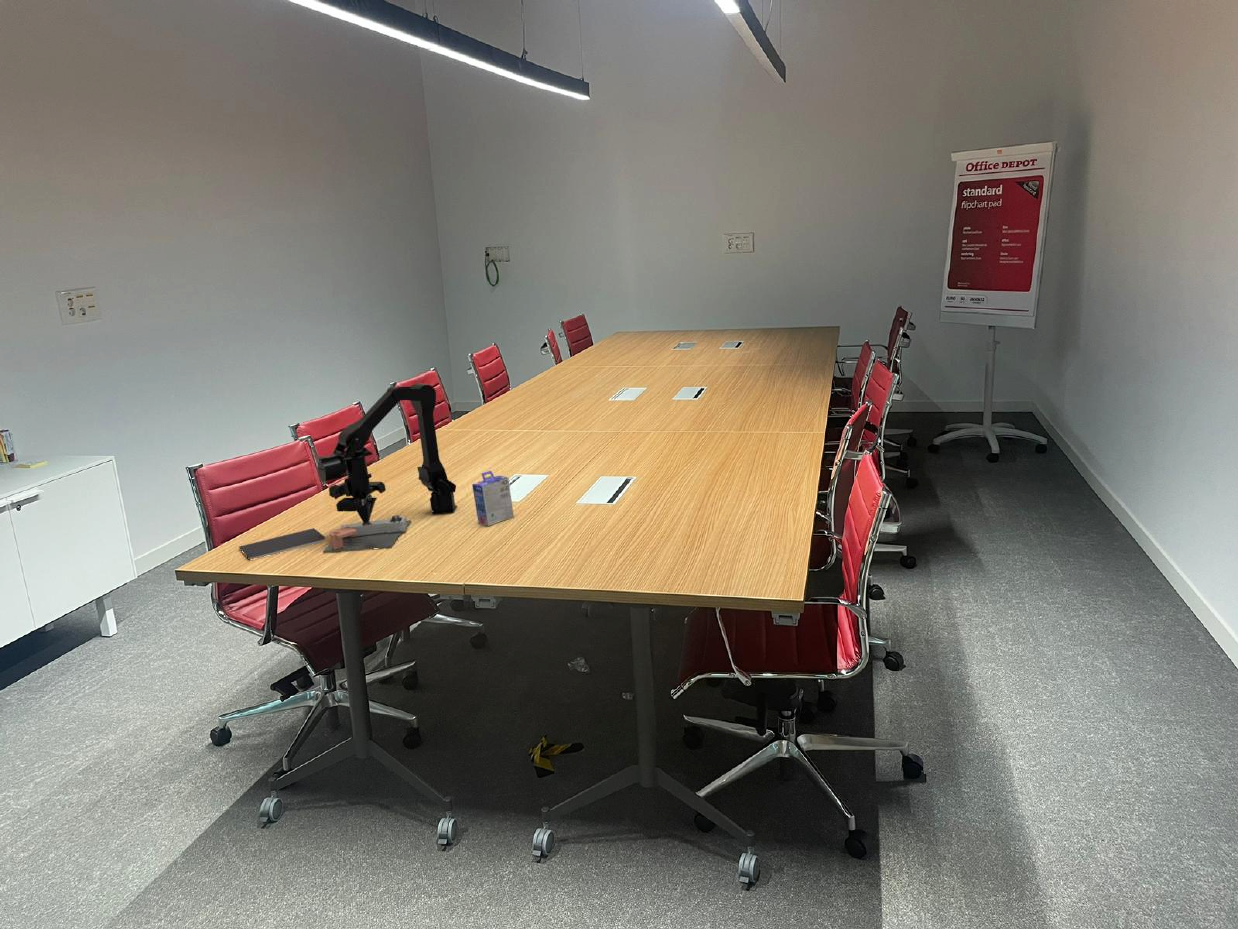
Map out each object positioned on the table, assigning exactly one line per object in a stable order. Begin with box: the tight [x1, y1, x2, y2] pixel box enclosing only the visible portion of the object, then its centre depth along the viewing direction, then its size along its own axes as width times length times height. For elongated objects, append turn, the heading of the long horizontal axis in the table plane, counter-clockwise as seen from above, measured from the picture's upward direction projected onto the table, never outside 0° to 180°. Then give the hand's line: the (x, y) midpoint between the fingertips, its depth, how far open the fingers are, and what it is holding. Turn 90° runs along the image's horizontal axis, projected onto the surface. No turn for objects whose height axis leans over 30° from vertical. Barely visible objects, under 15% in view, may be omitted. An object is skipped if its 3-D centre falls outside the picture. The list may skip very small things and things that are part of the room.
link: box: [339, 515, 408, 538], centre depth 260 cm, size 18×5×3 cm, turn 99°
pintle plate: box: [322, 514, 413, 554], centre depth 258 cm, size 19×22×5 cm
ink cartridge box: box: [471, 470, 515, 527], centre depth 261 cm, size 10×6×14 cm, turn 135°
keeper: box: [329, 526, 358, 550], centre depth 250 cm, size 6×6×5 cm
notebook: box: [238, 527, 326, 560], centre depth 258 cm, size 13×2×21 cm
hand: (366, 524), depth 262 cm, fingers closed
